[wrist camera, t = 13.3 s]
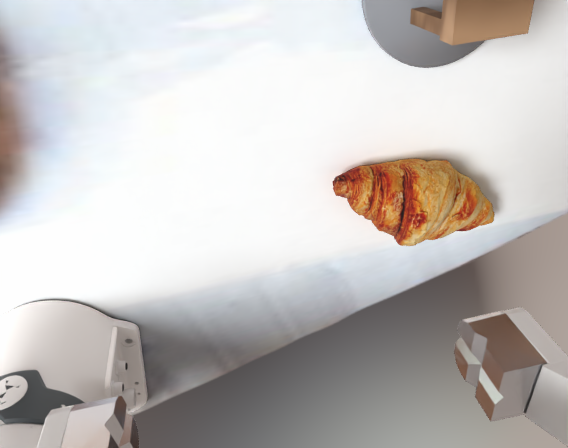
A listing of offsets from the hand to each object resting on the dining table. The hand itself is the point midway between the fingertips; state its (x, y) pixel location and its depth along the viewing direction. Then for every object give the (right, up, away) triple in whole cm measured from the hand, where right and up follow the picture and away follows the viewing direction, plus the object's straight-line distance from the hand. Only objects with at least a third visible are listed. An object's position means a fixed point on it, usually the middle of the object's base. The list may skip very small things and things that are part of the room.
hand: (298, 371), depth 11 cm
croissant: (+14, +7, +40) cm, 43 cm away
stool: (+13, +24, +27) cm, 39 cm away
